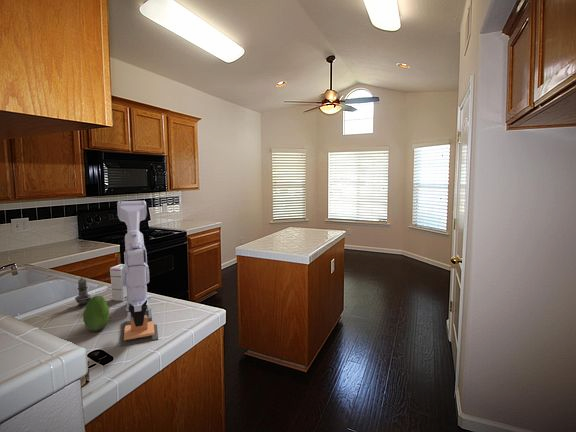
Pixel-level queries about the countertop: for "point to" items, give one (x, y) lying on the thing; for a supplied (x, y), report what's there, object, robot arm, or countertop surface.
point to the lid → (139, 329)
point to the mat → (139, 340)
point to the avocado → (96, 313)
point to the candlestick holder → (82, 294)
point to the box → (148, 313)
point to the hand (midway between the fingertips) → (139, 323)
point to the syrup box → (118, 283)
